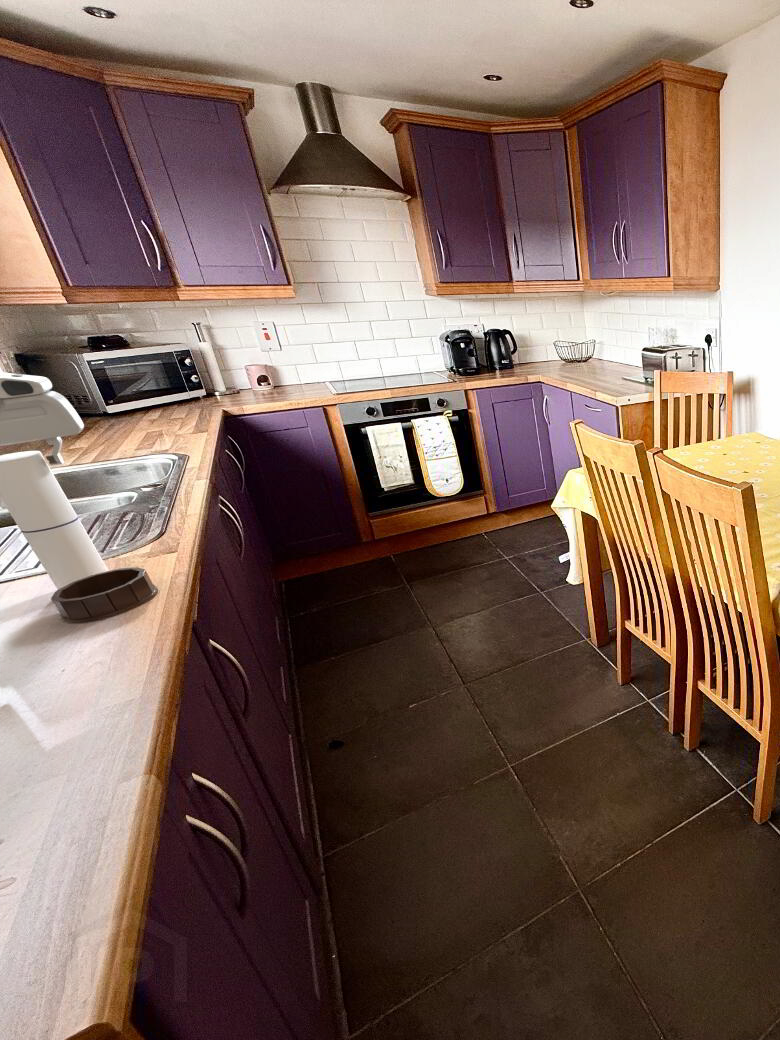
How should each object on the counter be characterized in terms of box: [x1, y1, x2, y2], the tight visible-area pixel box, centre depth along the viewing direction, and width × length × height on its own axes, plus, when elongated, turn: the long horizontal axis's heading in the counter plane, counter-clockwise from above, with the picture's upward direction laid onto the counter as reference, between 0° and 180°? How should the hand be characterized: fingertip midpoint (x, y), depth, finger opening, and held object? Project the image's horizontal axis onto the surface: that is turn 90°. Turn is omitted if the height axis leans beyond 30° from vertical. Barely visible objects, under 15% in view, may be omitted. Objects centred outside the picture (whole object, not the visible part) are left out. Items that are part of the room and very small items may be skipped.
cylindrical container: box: [0, 450, 109, 590], centre depth 103 cm, size 7×7×25 cm
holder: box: [50, 566, 159, 624], centre depth 101 cm, size 12×12×4 cm
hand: (19, 470), depth 99 cm, fingers open, 8 cm apart
